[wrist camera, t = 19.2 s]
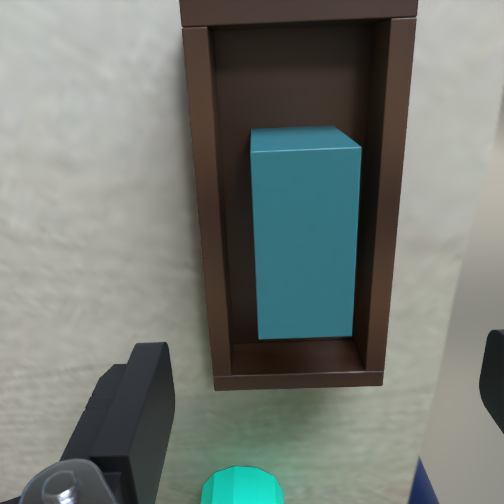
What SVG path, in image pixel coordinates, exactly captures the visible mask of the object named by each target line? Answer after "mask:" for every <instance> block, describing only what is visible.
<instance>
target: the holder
mask: <svg viewBox="0 0 504 504" xmlns="http://www.w3.org/2000/svg"><path fill="white" fill-rule="evenodd" d="M179 4H180V15H181V26H182V27H183V28H182V37H183V48H184V59H185V70H186V81H187V92H188V103H189V114H190V125H191V136H192V148H193V159H194V170H195V181H196V192H197V203H198V214H199V225H200V236H201V247H202V259H203V270H204V281H205V292H206V303H207V314H208V325H209V336H210V347H211V358H212V369H213V380H214V390H215V391H231V390H263V389H296V388H328V387H360V386H382V385H383V375H384V366H385V355H386V344H387V333H388V323H389V312H390V301H391V290H392V279H393V269H394V258H395V247H396V236H397V225H398V215H399V204H400V193H401V182H402V171H403V161H404V150H405V139H406V128H407V117H408V106H409V96H410V85H411V74H412V63H413V52H414V42H415V31H416V20H417V19H416V16H417V9H418V0H179ZM324 125H334V126H335V127H336V128H338V129H339V130H340V131H342V132H343V133H344V134H345V135H347V136H348V137H349V138H350V139H352V140H353V141H354V142H356V143H357V144H358V145H359V146H361V148H362V151H361V171H360V190H359V209H358V228H357V248H356V267H355V286H354V306H353V325H352V336H339V337H311V338H283V339H259V338H258V319H257V297H256V274H255V252H254V229H253V206H252V184H251V161H250V138H251V129H256V128H279V127H302V126H324Z"/></svg>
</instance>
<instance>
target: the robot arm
mask: <svg viewBox="0 0 504 504" xmlns="http://www.w3.org/2000/svg"><path fill="white" fill-rule="evenodd" d="M479 389H480V395H481V399H482V401H483V403H484V406H485V407H486V409H487V410H488V412H489V413H490V415H491V416H492V418H493V419H494V421H495V422H496V424H497V425H498V427H499V428H500V429H501V431H502V432H503V434H504V329H503V330H492V331H490V333H489V334H488V337H487V341H486V347H485V353H484V358H483V363H482V369H481V375H480V380H479ZM85 408H86V409H85V411H83V413H82V415H81V418H80V420H79V422H78V424H77V426H76V428H75V430H74V432H73V434H72V436H71V438H70V440H69V442H68V444H67V446H66V448H65V450H64V452H63V454H62V457H61V459H60V461H59V462H57V463H55V464H53V465H51V466H49V467H47V468H45V469H44V470H42V471H41V472H40V473H38V474H37V475H36V476H35V477H34V478H33V479H32V480H31V481H30V482H29V483H28V484H27V486H26V487H25V489H24V490H23V492H22V494H21V496H19V497H16V498H14V499H11V500H8V501H5V502H1V503H0V504H155V500H156V496H157V491H158V487H159V482H160V478H161V473H162V469H163V464H164V460H165V455H166V451H167V446H168V442H169V437H170V433H171V428H172V424H173V419H174V413H175V390H174V383H173V376H172V368H171V361H170V354H169V348H168V344H167V343H166V342H155V343H137V344H136V345H135V346H134V348H133V351H132V353H131V356H130V358H129V360H128V363H127V364H114V365H113V366H112V367H111V368H110V369H109V370H108V371H107V372H106V373H105V374H104V375H103V376H102V377H100V379H99V381H98V383H97V385H96V387H95V389H94V391H93V393H92V397H90V399H89V401H88V403H87V405H86V407H85Z"/></svg>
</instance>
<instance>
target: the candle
mask: <svg viewBox="0 0 504 504" xmlns="http://www.w3.org/2000/svg"><path fill="white" fill-rule="evenodd" d="M201 504H284V494H283V490H282V488H281V487H280V485H279V483H278V482H277V480H276V478H275V477H274V476H272V475H270V474H268V473H266V472H264V471H262V470H260V469H259V468H255V467H242V466H233V467H230V468H227V469H224V470H221V471H218V472H215V473H214V474H213V475H212V476H211V477H210V478H209V479H208V481H207V482H206V483H205V484H204V485H203V488H202V496H201Z"/></svg>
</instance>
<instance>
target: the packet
mask: <svg viewBox="0 0 504 504" xmlns="http://www.w3.org/2000/svg"><path fill="white" fill-rule="evenodd" d="M361 151H362V148H361V146H359V145H358V144H357V143H356V142H354V141H353V140H352V139H350V138H349V137H348V136H347V135H345V134H344V133H343V132H342V131H340V130H339V129H338V128H336V127H335V126H334V125H324V126H302V127H279V128H256V129H251V138H250V161H251V184H252V206H253V229H254V252H255V274H256V297H257V319H258V338H259V339H283V338H311V337H339V336H352V325H353V306H354V286H355V267H356V248H357V228H358V209H359V190H360V171H361Z"/></svg>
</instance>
